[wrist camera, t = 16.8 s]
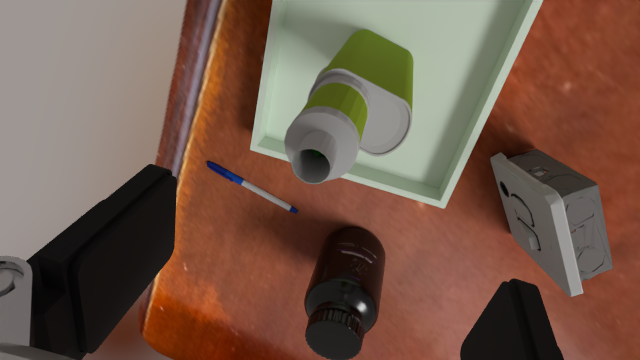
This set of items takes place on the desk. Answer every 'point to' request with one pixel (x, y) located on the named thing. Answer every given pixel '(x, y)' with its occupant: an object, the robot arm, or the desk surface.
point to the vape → (353, 109)
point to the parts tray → (428, 79)
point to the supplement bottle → (344, 293)
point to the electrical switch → (554, 217)
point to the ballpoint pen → (249, 186)
